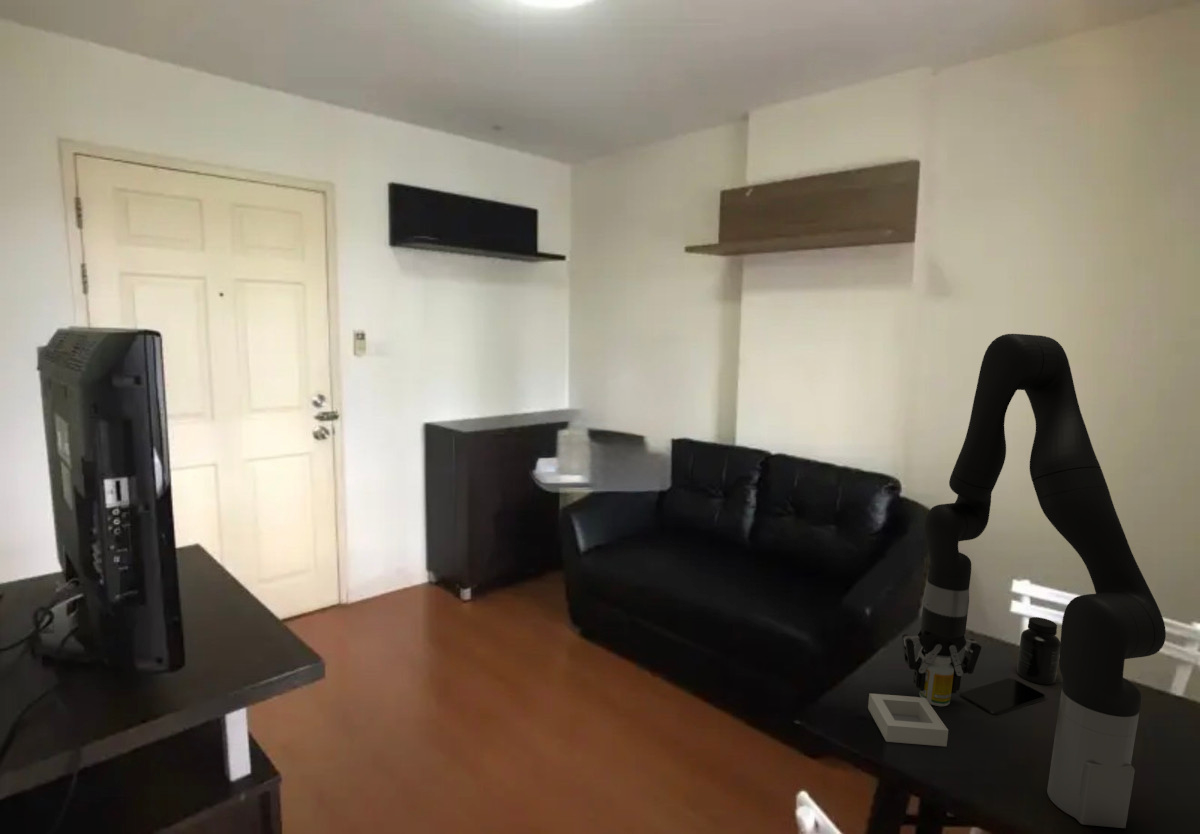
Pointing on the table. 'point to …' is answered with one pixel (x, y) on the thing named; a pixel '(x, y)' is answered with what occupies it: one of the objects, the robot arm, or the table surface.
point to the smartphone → (1002, 696)
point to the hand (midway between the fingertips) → (935, 689)
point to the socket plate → (907, 720)
